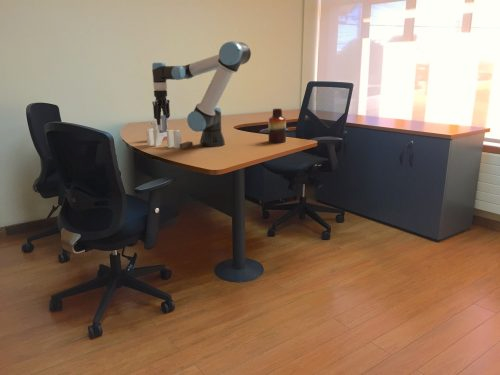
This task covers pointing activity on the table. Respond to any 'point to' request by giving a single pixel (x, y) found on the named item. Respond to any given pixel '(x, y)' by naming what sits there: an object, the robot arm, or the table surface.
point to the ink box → (163, 135)
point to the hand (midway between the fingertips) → (162, 129)
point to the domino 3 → (163, 124)
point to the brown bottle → (277, 127)
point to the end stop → (186, 145)
